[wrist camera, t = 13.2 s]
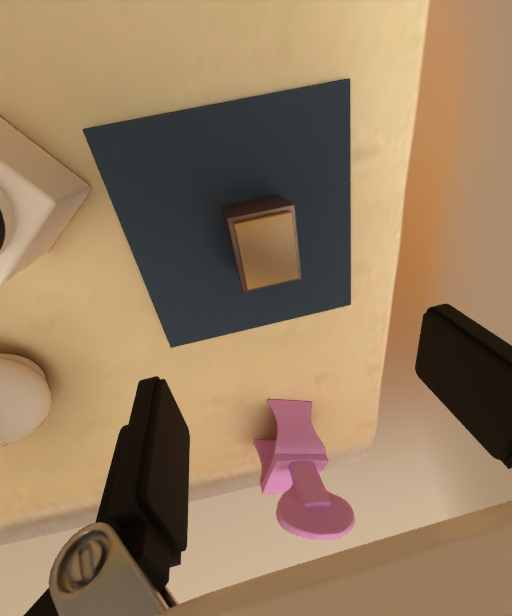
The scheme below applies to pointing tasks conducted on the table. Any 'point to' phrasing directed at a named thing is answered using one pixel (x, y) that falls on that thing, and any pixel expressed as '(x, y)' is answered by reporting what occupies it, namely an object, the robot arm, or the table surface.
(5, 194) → the medicine bottle
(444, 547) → the robot arm
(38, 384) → the flower vase
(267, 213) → the brown block
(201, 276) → the desk pad
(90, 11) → the table surface
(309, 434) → the toy chair
